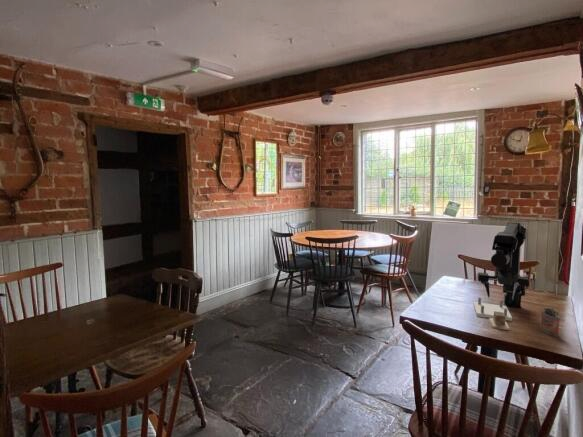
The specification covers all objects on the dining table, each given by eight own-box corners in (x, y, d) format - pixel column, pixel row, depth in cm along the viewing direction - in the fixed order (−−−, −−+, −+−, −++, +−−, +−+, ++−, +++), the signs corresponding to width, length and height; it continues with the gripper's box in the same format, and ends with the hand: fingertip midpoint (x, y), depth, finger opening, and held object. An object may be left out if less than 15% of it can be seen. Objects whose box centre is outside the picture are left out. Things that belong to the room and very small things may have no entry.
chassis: (505, 308, 171) (506, 299, 171) (511, 321, 157) (512, 311, 156) (473, 304, 177) (474, 296, 176) (476, 316, 162) (477, 306, 162)
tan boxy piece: (504, 322, 156) (505, 311, 155) (509, 330, 147) (509, 318, 147) (489, 320, 158) (490, 309, 157) (492, 328, 150) (493, 316, 149)
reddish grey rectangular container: (537, 328, 150) (539, 305, 149) (544, 327, 150) (547, 305, 149) (553, 336, 142) (555, 312, 141) (560, 336, 142) (563, 312, 141)
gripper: (480, 265, 146) (478, 301, 148) (534, 269, 139) (530, 308, 140) (478, 259, 156) (475, 293, 158) (527, 263, 149) (524, 299, 151)
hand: (500, 298), depth 151 cm, fingers open, 9 cm apart
